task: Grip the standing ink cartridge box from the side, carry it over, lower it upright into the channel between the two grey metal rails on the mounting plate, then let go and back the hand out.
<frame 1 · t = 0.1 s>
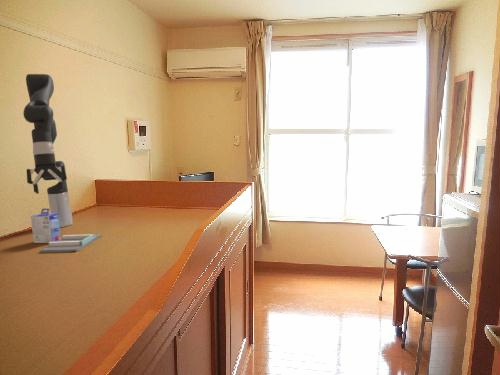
hand: (49, 192, 146), 22 cm above the table, tool pointing down, fingers open, 8 cm apart
ink cartridge box: (48, 241, 153), on the table
rail plate: (73, 244, 147), on the table
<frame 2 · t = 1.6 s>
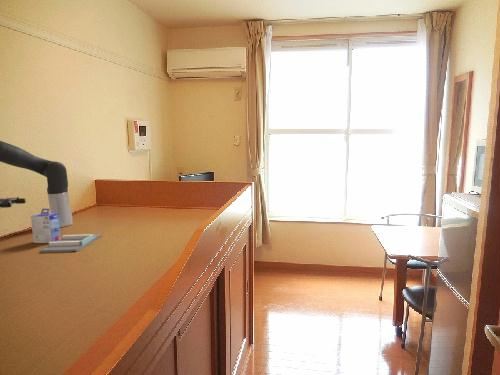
hand: (18, 202, 151), 18 cm above the table, tool horizontal, fingers open, 8 cm apart
nothing on the table moved.
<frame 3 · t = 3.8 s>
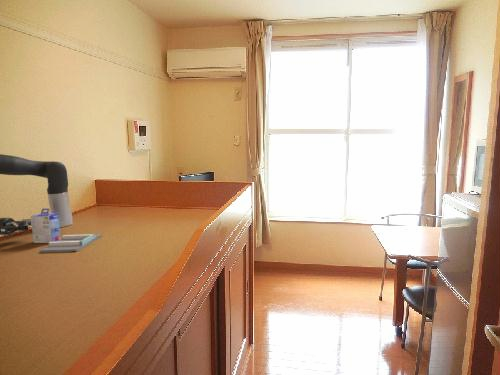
hand: (34, 225, 152), 8 cm above the table, tool horizontal, fingers open, 8 cm apart
nothing on the table moved.
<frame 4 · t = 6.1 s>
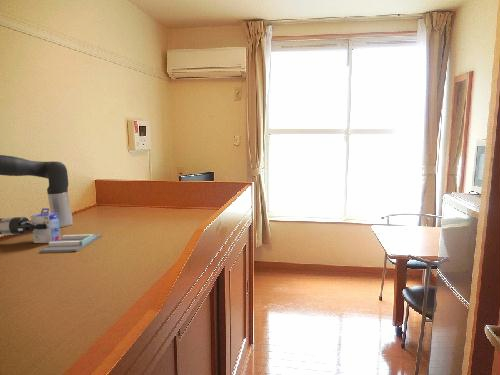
hand: (50, 224, 152), 8 cm above the table, tool horizontal, fingers closed on ink cartridge box, 6 cm apart
ink cartridge box: (48, 241, 153), on the table, touching gripper
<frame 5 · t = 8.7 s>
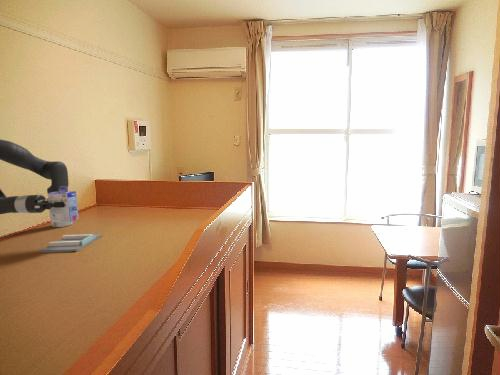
hand: (68, 202, 144), 18 cm above the table, tool horizontal, fingers closed on ink cartridge box, 6 cm apart
ink cartridge box: (65, 221, 146), point 10 cm above the table, touching gripper
when the fingers open (9 cm above the table, at t = 11.4 s): ink cartridge box stays where it is, resting on rail plate.
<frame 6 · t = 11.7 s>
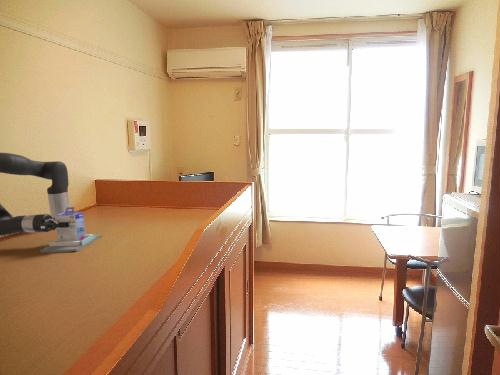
hand: (74, 222, 145), 10 cm above the table, tool horizontal, fingers open, 8 cm apart
ink cartridge box: (72, 242, 147), point 1 cm above the table, touching rail plate
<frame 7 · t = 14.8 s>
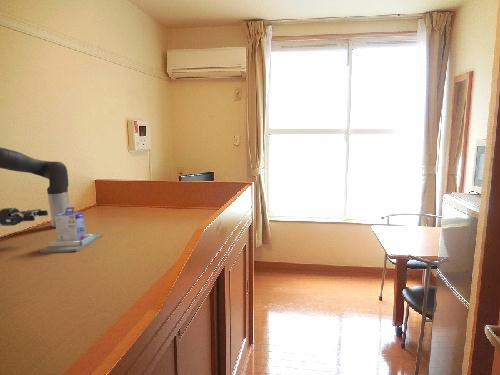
hand: (40, 215, 148), 13 cm above the table, tool horizontal, fingers open, 8 cm apart
nothing on the table moved.
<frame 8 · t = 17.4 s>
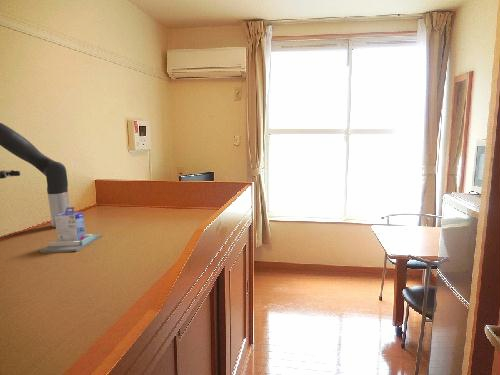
hand: (12, 174, 151), 30 cm above the table, tool horizontal, fingers open, 8 cm apart
nothing on the table moved.
at the end: ink cartridge box 0.1 cm off-centre on the rail plate, point 0.8 cm above the rail plate's base; ink cartridge box tilted 0°; the gripper is holding nothing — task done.
